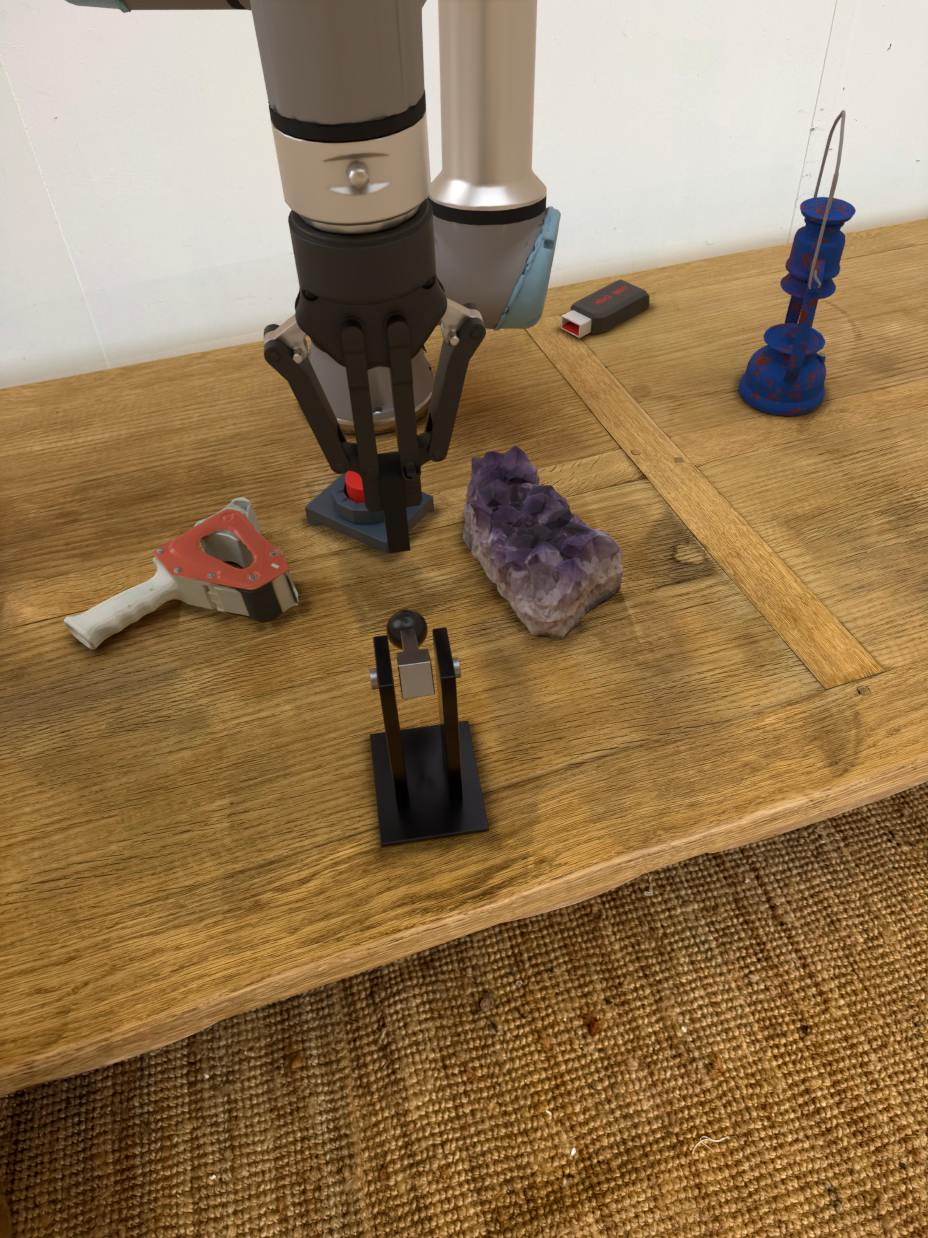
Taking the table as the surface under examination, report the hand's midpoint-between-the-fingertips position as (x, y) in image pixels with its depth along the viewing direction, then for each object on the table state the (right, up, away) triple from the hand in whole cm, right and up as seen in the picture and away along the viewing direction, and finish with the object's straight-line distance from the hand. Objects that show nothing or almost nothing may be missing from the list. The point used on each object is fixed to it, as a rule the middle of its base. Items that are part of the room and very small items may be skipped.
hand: (397, 538), depth 66 cm
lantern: (+41, +20, +42) cm, 62 cm away
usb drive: (+22, +33, +54) cm, 67 cm away
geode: (+11, -1, +24) cm, 26 cm away
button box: (-5, +5, +29) cm, 30 cm away
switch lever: (+1, -9, +2) cm, 10 cm away
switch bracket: (+2, -19, +7) cm, 20 cm away
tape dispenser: (-20, -3, +22) cm, 30 cm away
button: (-5, +7, +26) cm, 28 cm away
